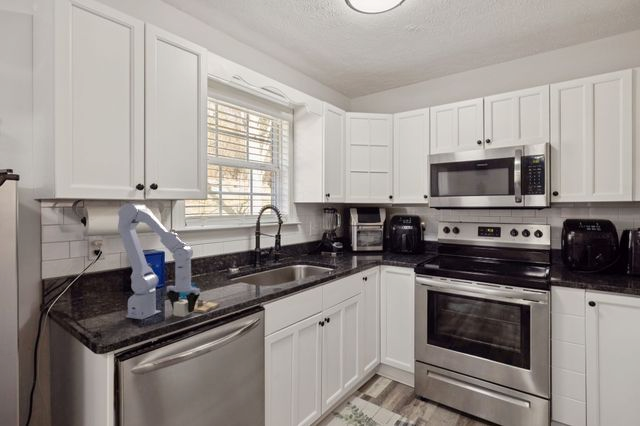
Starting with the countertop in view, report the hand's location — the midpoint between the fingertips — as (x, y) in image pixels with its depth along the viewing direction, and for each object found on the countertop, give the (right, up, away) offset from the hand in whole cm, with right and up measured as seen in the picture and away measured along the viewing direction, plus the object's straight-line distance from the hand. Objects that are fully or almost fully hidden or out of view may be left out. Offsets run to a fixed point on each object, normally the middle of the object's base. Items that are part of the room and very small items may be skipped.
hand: (183, 310), depth 130 cm
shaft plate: (+4, -1, +8) cm, 9 cm away
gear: (-8, -1, +22) cm, 23 cm away
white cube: (0, -1, 0) cm, 1 cm away
